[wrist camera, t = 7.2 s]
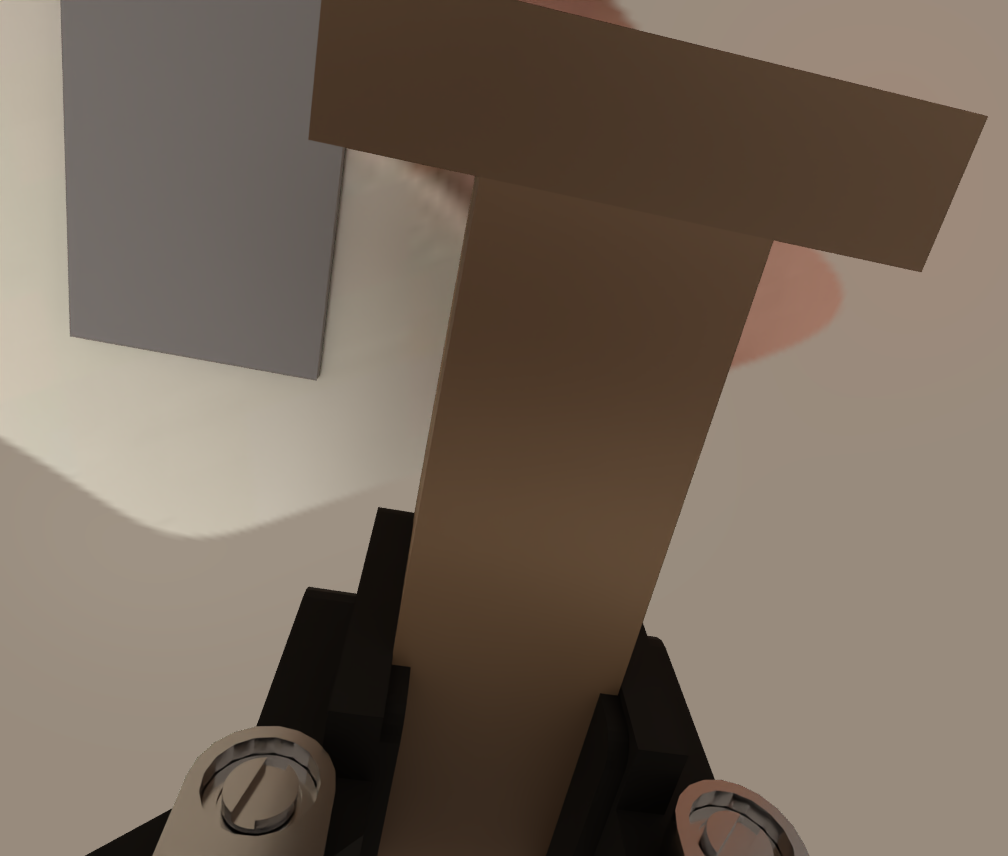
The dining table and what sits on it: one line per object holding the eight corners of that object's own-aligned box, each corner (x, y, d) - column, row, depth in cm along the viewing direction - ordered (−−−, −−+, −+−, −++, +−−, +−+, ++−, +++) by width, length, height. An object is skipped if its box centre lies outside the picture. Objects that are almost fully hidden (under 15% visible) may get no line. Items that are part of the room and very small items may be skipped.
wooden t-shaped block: (391, 30, 9) (326, -46, 5) (779, 122, 9) (988, 115, 5) (279, 902, 14) (212, 1166, 11) (518, 925, 15) (531, 1184, 11)
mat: (57, -509, 16) (45, -527, 16) (407, -399, 17) (406, -413, 17) (77, 332, 24) (70, 336, 23) (319, 375, 25) (316, 380, 24)
